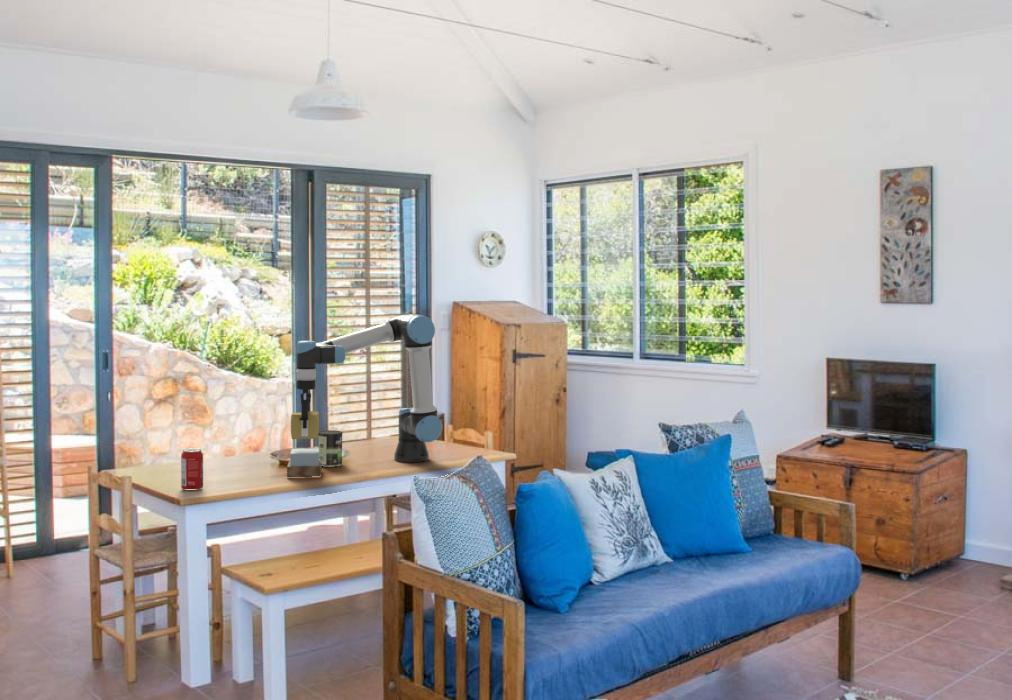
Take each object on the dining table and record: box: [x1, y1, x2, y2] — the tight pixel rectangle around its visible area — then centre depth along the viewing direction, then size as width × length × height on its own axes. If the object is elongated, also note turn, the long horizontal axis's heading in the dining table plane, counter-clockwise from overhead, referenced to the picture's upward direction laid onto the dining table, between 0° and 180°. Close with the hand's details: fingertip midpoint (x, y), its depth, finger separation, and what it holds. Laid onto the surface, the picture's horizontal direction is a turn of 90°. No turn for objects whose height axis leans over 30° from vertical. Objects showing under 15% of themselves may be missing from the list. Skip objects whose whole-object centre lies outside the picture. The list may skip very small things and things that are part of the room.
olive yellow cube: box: [290, 410, 320, 440], centre depth 409 cm, size 10×11×10 cm
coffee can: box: [317, 429, 344, 468], centre depth 431 cm, size 10×10×14 cm
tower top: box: [289, 448, 319, 466], centre depth 410 cm, size 11×11×5 cm
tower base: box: [286, 460, 323, 478], centre depth 410 cm, size 13×13×5 cm
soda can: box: [180, 448, 204, 490], centre depth 379 cm, size 8×8×15 cm
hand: (305, 434), depth 409 cm, fingers closed on olive yellow cube, 10 cm apart
